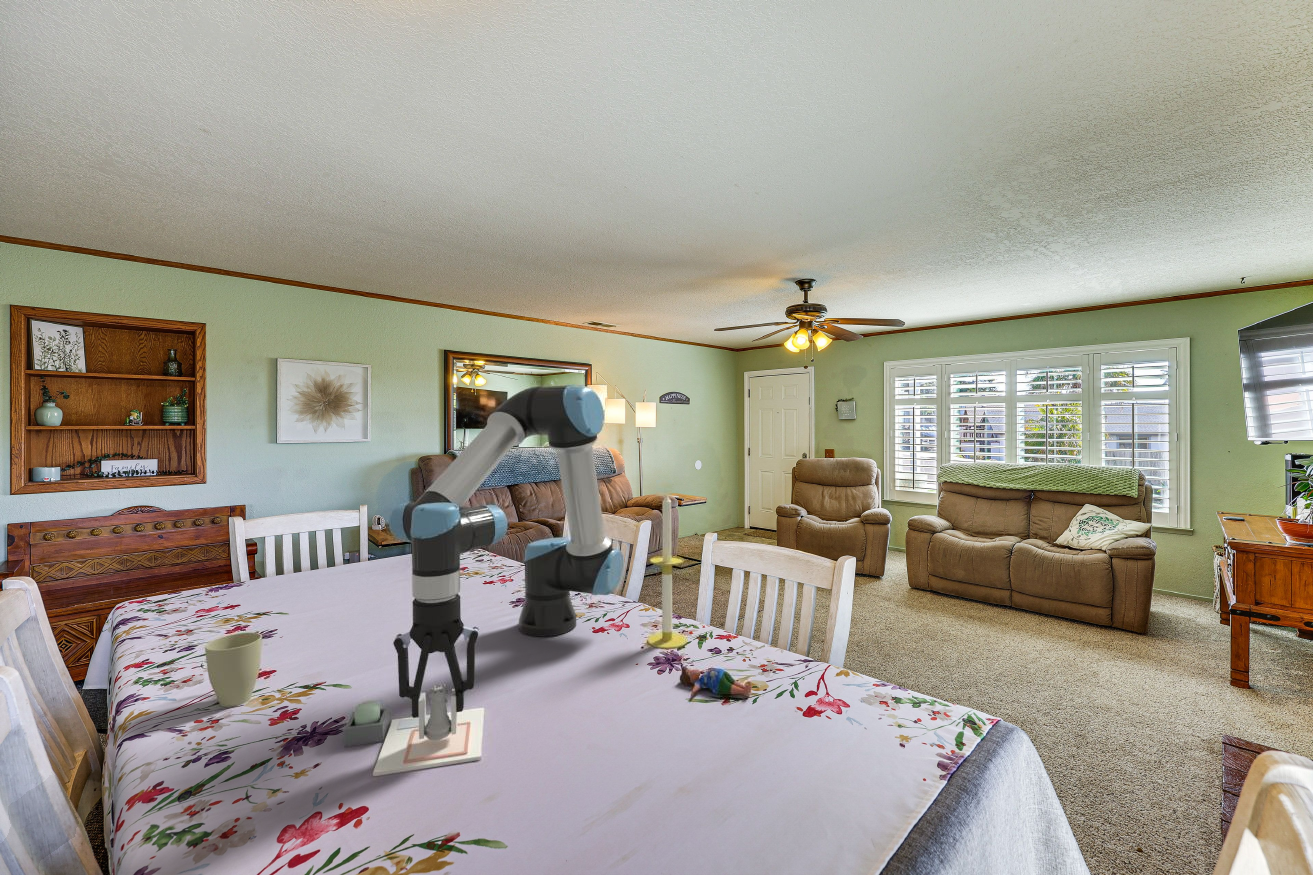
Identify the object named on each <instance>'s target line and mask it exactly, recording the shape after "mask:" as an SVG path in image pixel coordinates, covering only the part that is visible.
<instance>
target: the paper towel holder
mask: <svg viewBox="0 0 1313 875" xmlns="http://www.w3.org/2000/svg"><path fill="white" fill-rule="evenodd" d="M684 561H685V559H684V558H683V557H681V556H677V555H672V500H671V499H670V497H669V493H668V490H667V491H666V492H665V495H664V499H663V500H662V555H657V556H653V557H651V558H650V559H649V562H650V563H651V564H653V565H656V566H660V567H661V572H662V573H661V591H662V592H661V599H662V600H661V626H662V628H661V632H655V633H653V634H651V635H649V636H648V637H647V640H646V642H647V643H648V645H650V646H652V647H653V648H656V649H663V650H664V649H665V650H671V649H677V648H680V647H684V646H685V645H686V644H687V642H688V638H687V637H686V636H685V635H683V634H682V633H677V632H673V566H678V565H681V564H684Z"/></svg>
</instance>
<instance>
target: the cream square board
mask: <svg viewBox="0 0 1313 875" xmlns="http://www.w3.org/2000/svg"><path fill="white" fill-rule="evenodd" d="M447 714H448V716H449V719H450V720H451V711H449V712H448V711H447ZM484 717H485V707H480V708H479V707H478V708H477V707H476V708H471V709H463V711H462V712H457V732H456V734H453V735H451V733H450V734H449V736H447V737H446V738H443V739H440V740H430V739H428V738H427V737H426V736H424V739H419V717H417V718H413V717H412V716H410V717H403V718H394V719H392V720H391V723H390V724H389V727H388V730H387V733H386V735H385V738H384V741H383V745H382V748H381V749H380V753H379V755H378V758H377V762H376V764H375V767H374V769H373V771H372V776H373V777H377V776H384V775H391V774H397V773H406V772H409V771H417V770H424V769H431V768H437V767H443V766H450V765H456V764H462V763H469V762H475V761H480V760H482V750H483V746H482V745H483V736H484V735H483V732H484V719H485V718H484ZM429 718H430V714H426V724H427V723H428V720H429Z"/></svg>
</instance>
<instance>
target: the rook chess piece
mask: <svg viewBox="0 0 1313 875" xmlns="http://www.w3.org/2000/svg"><path fill="white" fill-rule="evenodd" d="M447 688H448V687H447V685H446V684H445V683H444V684H441V683H439V684H437V685H435V684H434V685H432V687H430V691H429V692H428V697H429V698H430V699H431V700H430V701H429V705H430V714H429V715H430V718H429V720H428V723H427V724H426V726H425V730H426V731H425V734H424V735H425V736H426V737H427V738H428V739H430V740H440V739H443V738H446V737H447V736H449V734H450V733H451V720H450V719H449V716H448V714H447V712H448V710H447V702H448V699H447V696H448V694H450V690H449V689H447Z"/></svg>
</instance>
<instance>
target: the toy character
mask: <svg viewBox="0 0 1313 875" xmlns="http://www.w3.org/2000/svg"><path fill="white" fill-rule="evenodd" d="M680 669H681V674H680V676H679V682H680V683H681V684H683V685H686V686H688V687H692V686H693V685H694V686H693V688H692V690H691V693H690V696H691V697H694V695H695V693H696V692H698V691H699V690H700V689H709V690H711V691H712V693H713V694H715V695H744V696H745V697H749V696H750V694H751V693H752V682H751V681H748V682H747V684H745V685H744V684H742V683H740V682H739V681H737V680H736V679H734V678H733V677H732V675H731V674H730V673H729V672H728V671H726V670H725V669H722V668H716V667H712V668H710V669H709V670H706V671H703V673H702V674H701V671H700V670H699V669H696V668H695V669H691V668H687V667H685V666H681V667H680Z"/></svg>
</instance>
